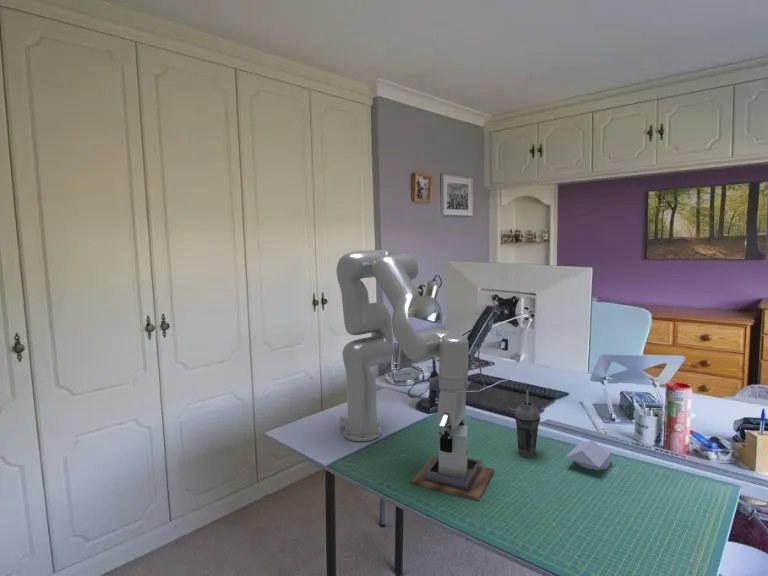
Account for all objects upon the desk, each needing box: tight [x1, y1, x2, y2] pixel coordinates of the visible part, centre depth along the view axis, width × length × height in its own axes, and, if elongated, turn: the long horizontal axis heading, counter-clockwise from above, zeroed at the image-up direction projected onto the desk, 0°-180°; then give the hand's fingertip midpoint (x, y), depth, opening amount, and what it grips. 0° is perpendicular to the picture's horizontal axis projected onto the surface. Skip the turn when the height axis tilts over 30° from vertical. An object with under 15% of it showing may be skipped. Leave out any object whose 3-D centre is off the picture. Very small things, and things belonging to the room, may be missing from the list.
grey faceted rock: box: [565, 439, 611, 471], centre depth 134 cm, size 9×7×13 cm
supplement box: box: [438, 424, 469, 479], centre depth 128 cm, size 7×7×13 cm
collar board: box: [411, 453, 495, 502], centre depth 128 cm, size 18×15×4 cm
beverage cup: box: [514, 389, 541, 459], centre depth 140 cm, size 7×7×20 cm
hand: (452, 443), depth 127 cm, fingers open, 9 cm apart
